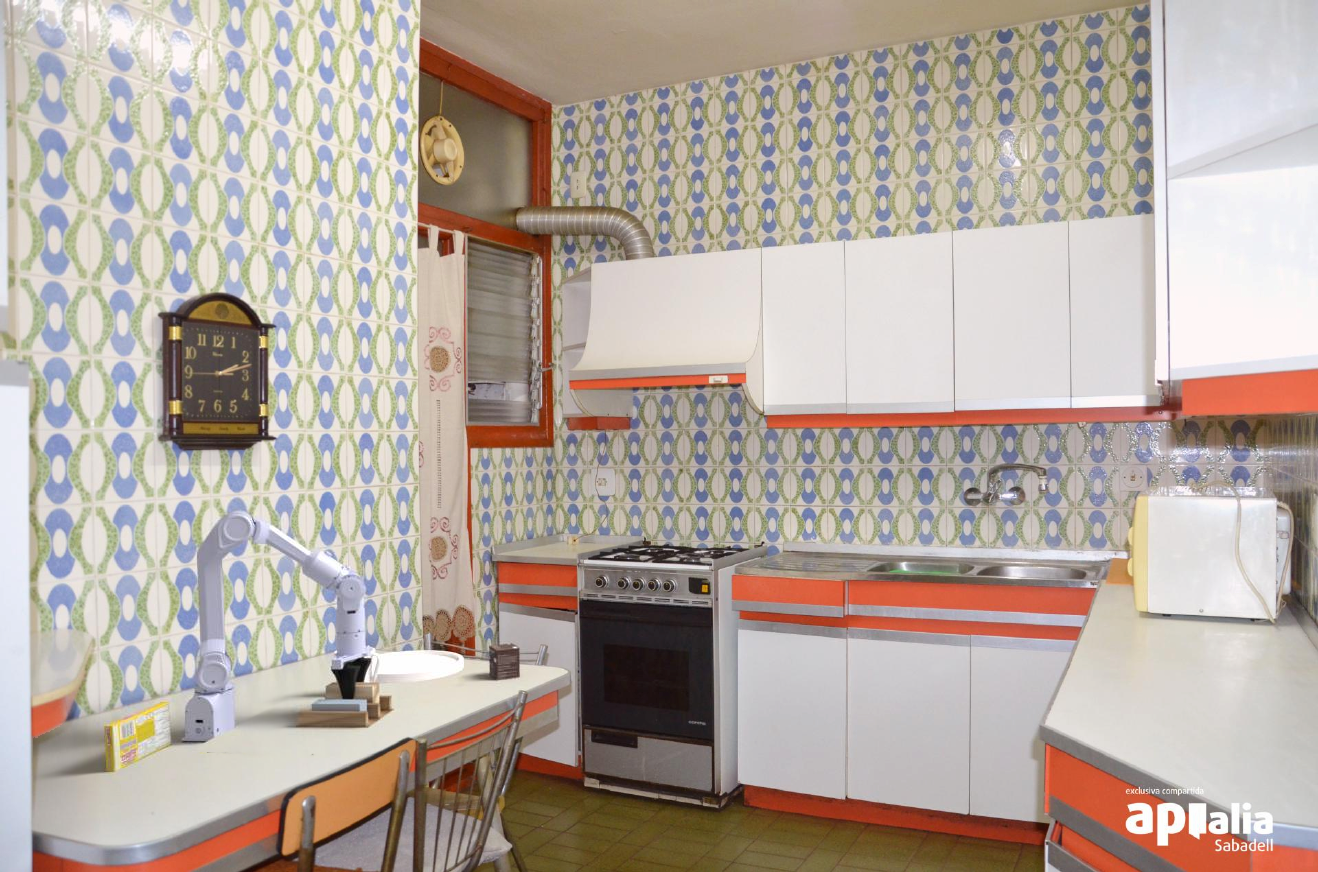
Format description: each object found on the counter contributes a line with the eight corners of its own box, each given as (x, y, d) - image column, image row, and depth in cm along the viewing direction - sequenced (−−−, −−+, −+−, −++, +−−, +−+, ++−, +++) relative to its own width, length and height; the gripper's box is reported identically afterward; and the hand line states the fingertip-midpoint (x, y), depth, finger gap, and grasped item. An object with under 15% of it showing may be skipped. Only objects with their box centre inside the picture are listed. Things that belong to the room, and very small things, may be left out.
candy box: (162, 744, 194) (161, 701, 194) (172, 744, 194) (171, 701, 194) (104, 771, 178) (103, 724, 178) (115, 772, 178) (114, 724, 178)
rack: (367, 732, 199) (367, 712, 199) (294, 731, 200) (294, 712, 200) (394, 713, 213) (394, 695, 213) (326, 712, 214) (325, 694, 214)
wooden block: (372, 715, 207) (372, 686, 207) (326, 715, 208) (325, 686, 209) (379, 711, 211) (379, 682, 211) (333, 710, 212) (332, 682, 212)
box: (489, 675, 246) (488, 645, 246) (513, 672, 249) (512, 642, 249) (496, 680, 241) (495, 649, 241) (520, 677, 243) (519, 647, 243)
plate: (332, 685, 241) (331, 674, 241) (370, 660, 269) (369, 650, 269) (448, 683, 240) (448, 673, 240) (474, 658, 268) (474, 649, 268)
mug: (327, 700, 225) (326, 654, 225) (348, 690, 234) (347, 646, 234) (371, 702, 222) (370, 655, 223) (391, 692, 231) (390, 647, 231)
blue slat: (360, 724, 201) (359, 703, 201) (311, 723, 202) (311, 703, 202) (367, 719, 205) (366, 699, 205) (319, 718, 206) (319, 699, 206)
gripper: (355, 637, 202) (356, 705, 202) (382, 624, 217) (384, 688, 216) (321, 637, 203) (322, 705, 203) (351, 624, 217) (352, 688, 217)
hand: (352, 696), depth 210 cm, fingers closed on wooden block, 3 cm apart
